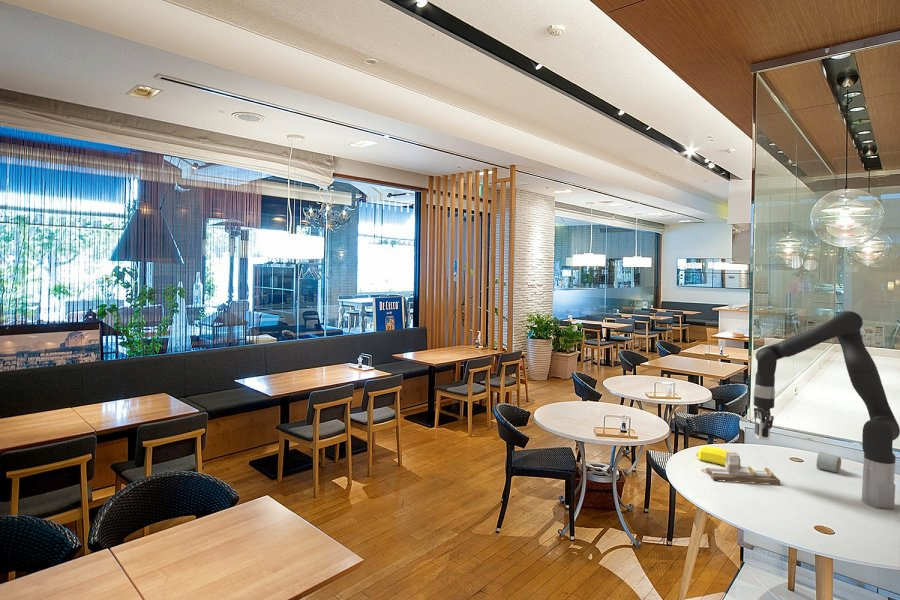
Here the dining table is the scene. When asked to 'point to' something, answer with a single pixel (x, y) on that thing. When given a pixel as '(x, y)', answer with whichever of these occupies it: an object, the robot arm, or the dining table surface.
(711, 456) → the yellow faceted pepper
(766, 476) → the wooden ladder shelf
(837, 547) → the dining table surface
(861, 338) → the robot arm
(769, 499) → the dining table surface
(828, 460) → the ceramic mug
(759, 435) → the loose white rectangular block
